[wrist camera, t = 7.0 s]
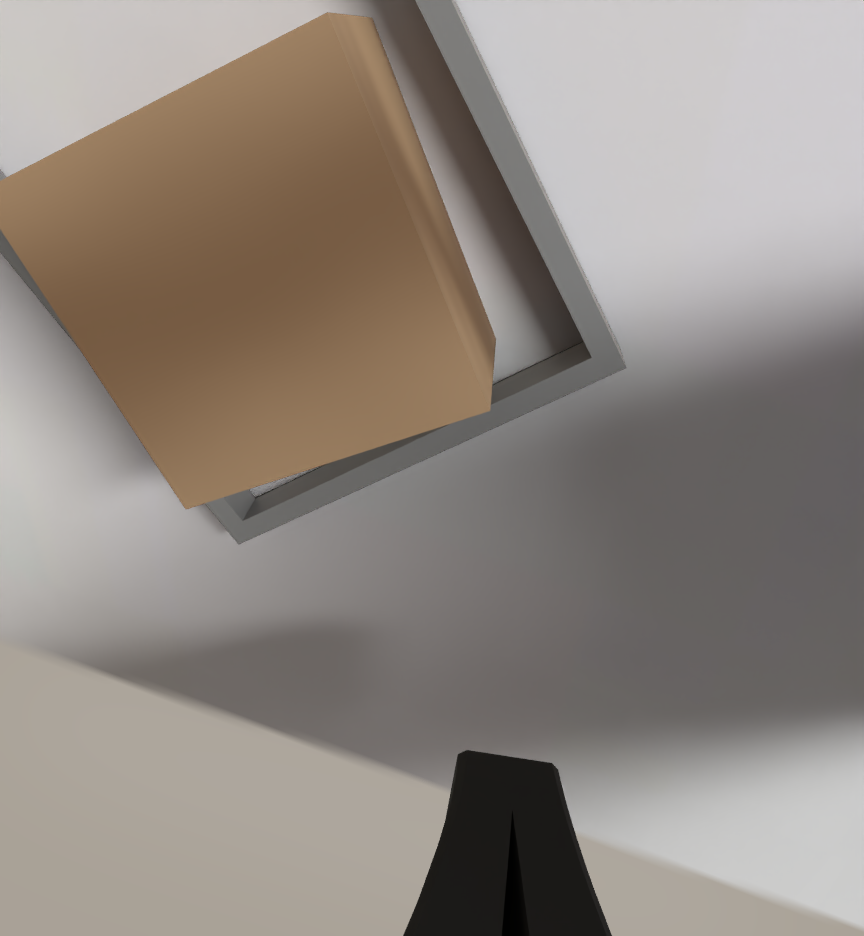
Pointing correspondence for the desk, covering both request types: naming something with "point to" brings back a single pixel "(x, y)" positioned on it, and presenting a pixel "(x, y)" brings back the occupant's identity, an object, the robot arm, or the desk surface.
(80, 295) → the plug
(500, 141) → the socket
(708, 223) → the desk surface
